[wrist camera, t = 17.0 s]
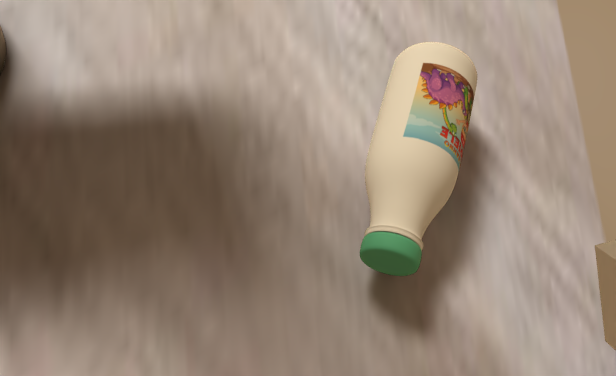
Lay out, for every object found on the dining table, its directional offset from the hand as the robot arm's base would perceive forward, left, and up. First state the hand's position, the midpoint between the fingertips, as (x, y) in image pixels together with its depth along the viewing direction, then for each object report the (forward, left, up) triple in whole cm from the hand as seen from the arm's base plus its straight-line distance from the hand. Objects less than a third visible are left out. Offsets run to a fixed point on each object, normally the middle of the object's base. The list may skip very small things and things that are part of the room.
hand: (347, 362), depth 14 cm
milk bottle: (+24, +26, -25) cm, 43 cm away
